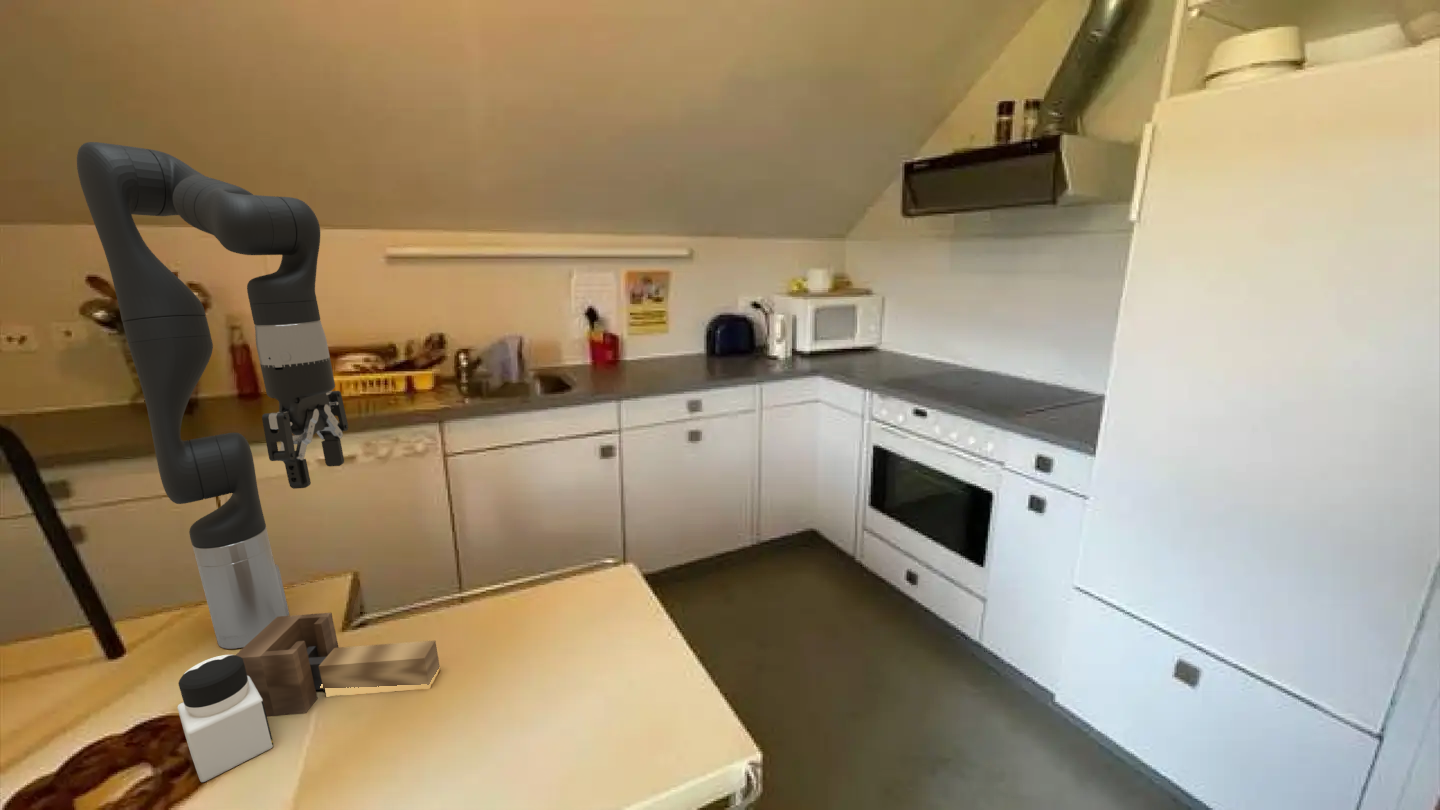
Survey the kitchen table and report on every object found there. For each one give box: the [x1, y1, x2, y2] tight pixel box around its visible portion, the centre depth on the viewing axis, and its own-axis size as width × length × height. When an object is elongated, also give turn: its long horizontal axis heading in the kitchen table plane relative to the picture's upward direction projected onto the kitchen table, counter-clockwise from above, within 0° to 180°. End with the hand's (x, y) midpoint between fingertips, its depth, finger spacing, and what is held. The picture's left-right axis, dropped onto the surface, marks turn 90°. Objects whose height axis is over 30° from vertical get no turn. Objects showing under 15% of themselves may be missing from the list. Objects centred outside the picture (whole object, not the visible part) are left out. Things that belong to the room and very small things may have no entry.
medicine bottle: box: [177, 654, 274, 783], centre depth 74 cm, size 7×7×12 cm
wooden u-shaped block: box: [235, 612, 339, 717], centre depth 84 cm, size 8×10×9 cm
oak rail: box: [307, 639, 441, 690], centre depth 86 cm, size 18×6×5 cm, turn 94°
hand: (319, 475), depth 83 cm, fingers open, 8 cm apart
